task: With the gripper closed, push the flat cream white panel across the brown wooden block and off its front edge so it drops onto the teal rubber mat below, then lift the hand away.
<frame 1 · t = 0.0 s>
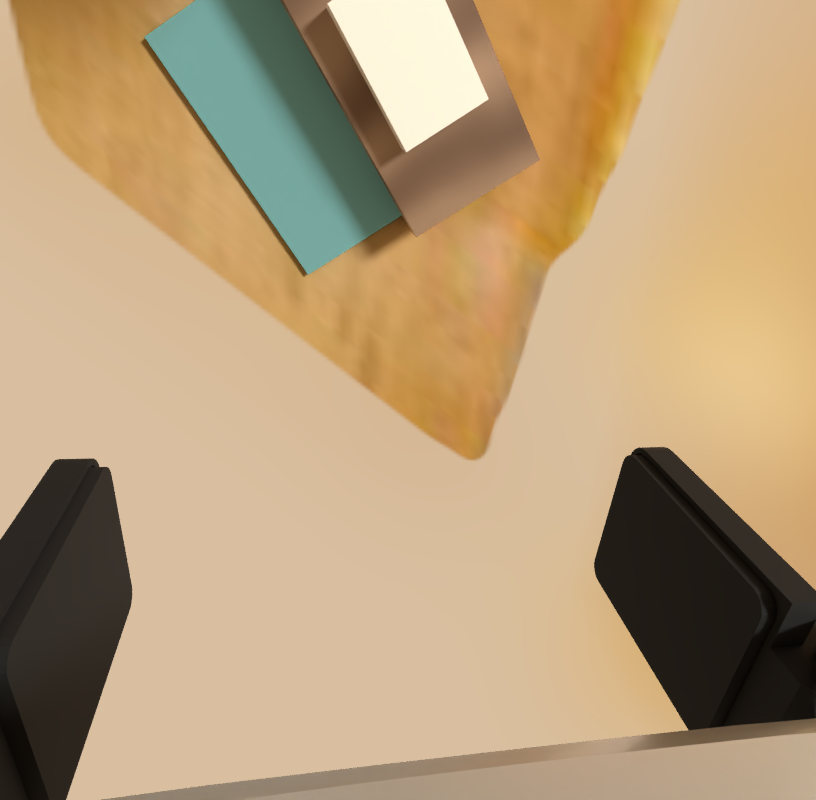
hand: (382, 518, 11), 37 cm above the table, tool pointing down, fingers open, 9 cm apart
cream white panel: (407, 55, 37), point 4 cm above the table, touching brown wooden block
brown wooden block: (397, 58, 40), on the table
mat: (285, 134, 41), on the table
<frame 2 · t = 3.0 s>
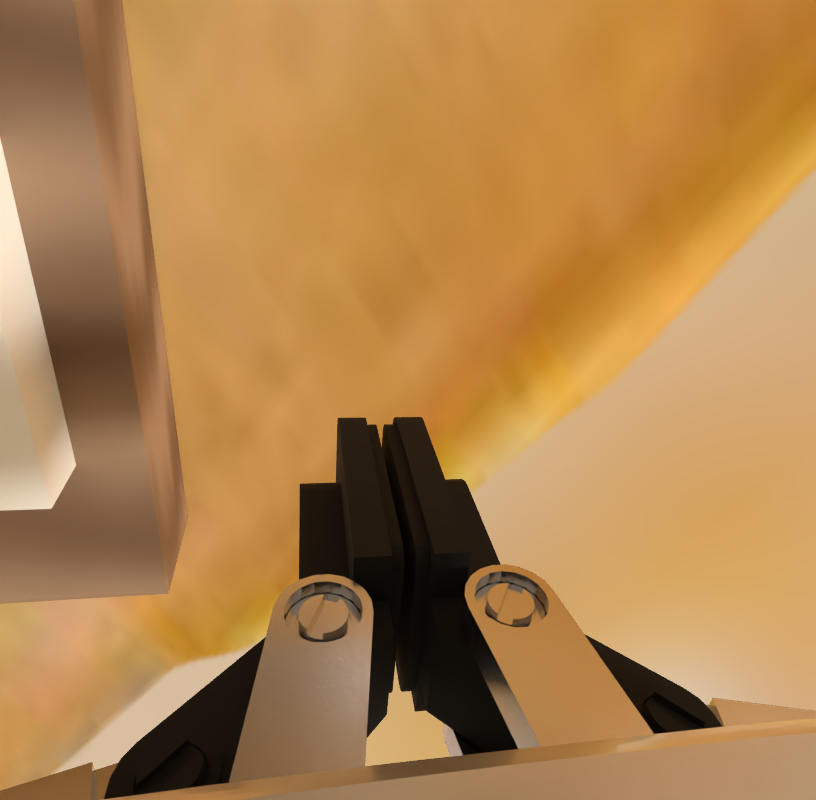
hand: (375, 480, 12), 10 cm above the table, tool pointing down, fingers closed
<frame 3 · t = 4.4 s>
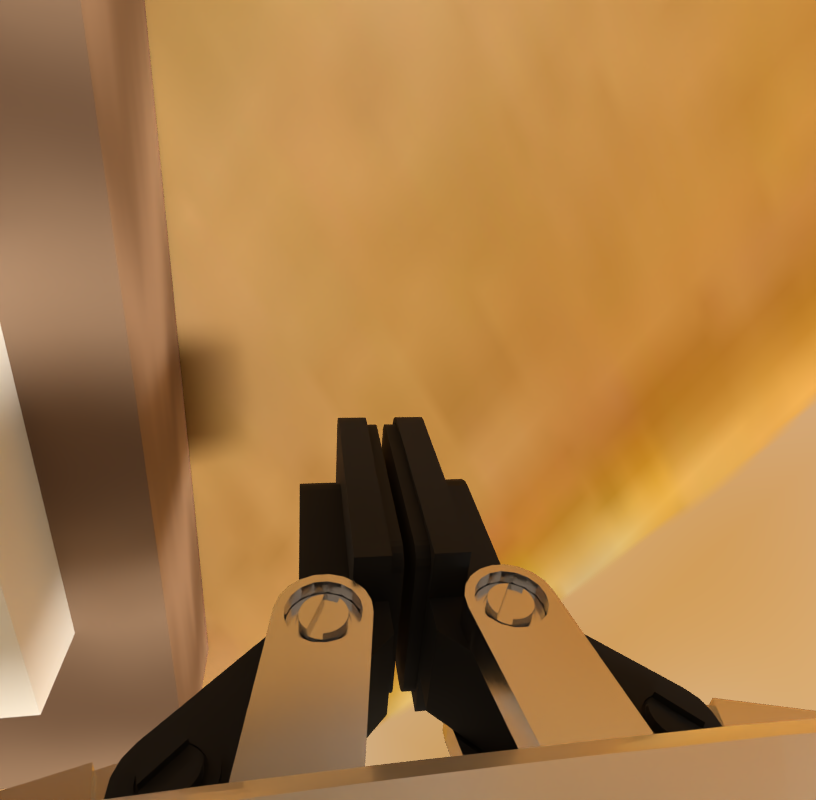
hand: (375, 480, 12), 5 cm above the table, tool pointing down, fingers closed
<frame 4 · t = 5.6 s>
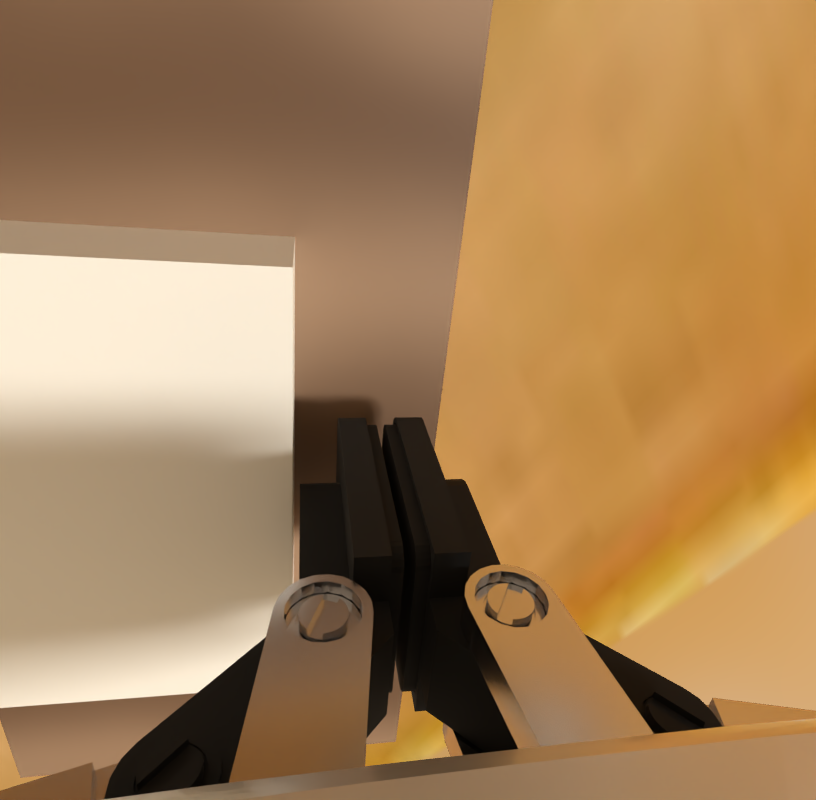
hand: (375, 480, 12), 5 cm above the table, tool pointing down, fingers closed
cream white panel: (140, 457, 12), point 4 cm above the table, touching brown wooden block, gripper
brown wooden block: (216, 372, 15), on the table
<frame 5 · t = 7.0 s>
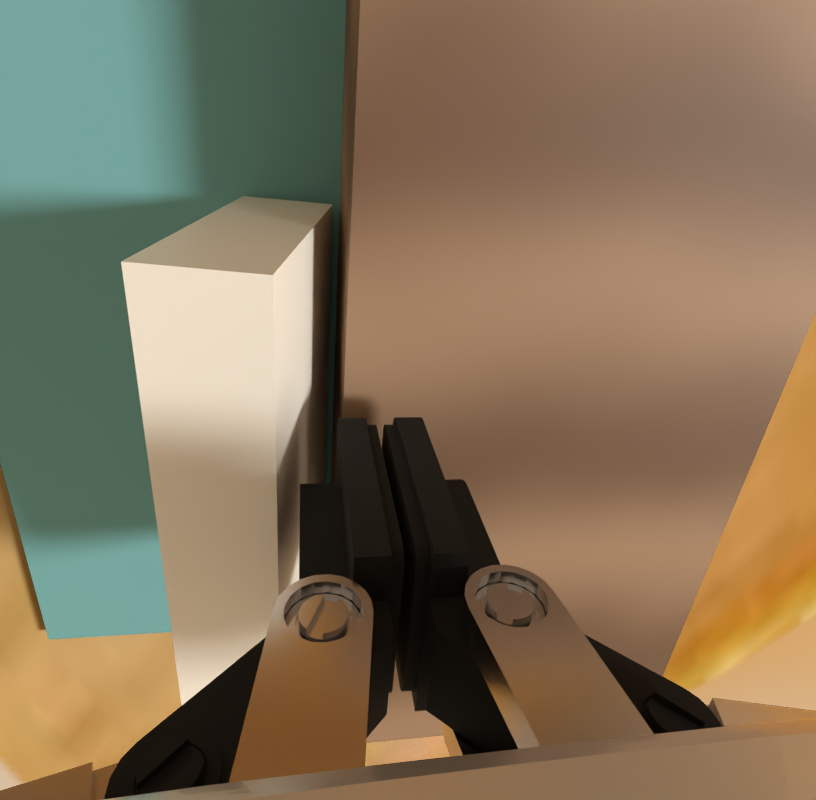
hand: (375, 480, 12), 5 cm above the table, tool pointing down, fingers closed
cream white panel: (308, 445, 12), point 4 cm above the table, tilted 100°, touching mat
brown wooden block: (509, 375, 17), on the table
mat: (167, 371, 15), on the table
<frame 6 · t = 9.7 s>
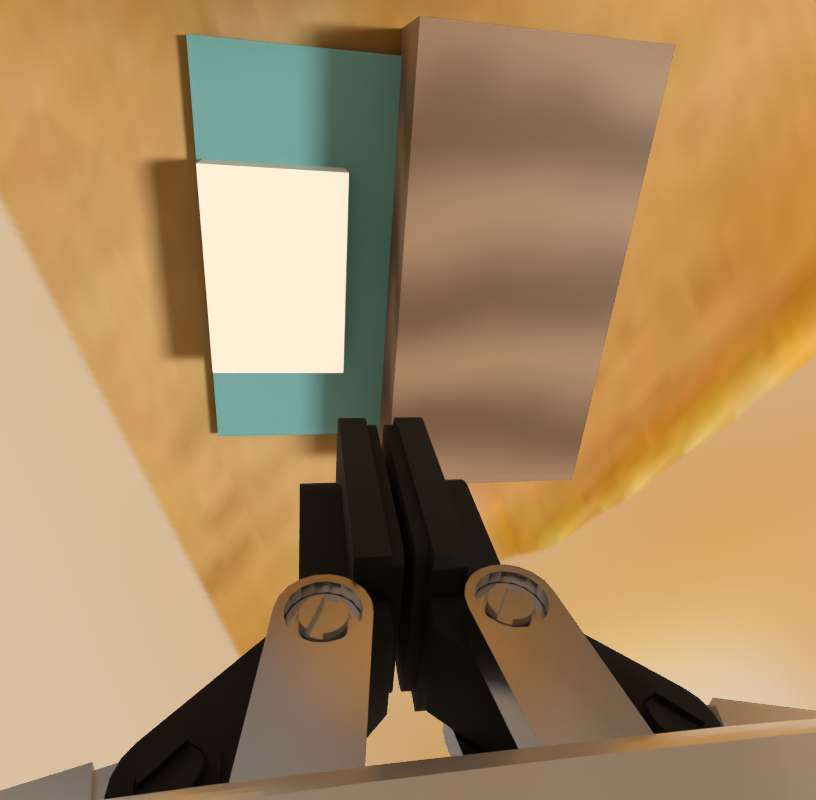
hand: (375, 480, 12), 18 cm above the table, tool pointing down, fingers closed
cream white panel: (276, 278, 26), point 2 cm above the table, tilted 180°, touching mat
brown wooden block: (486, 272, 30), on the table
mat: (299, 266, 28), on the table
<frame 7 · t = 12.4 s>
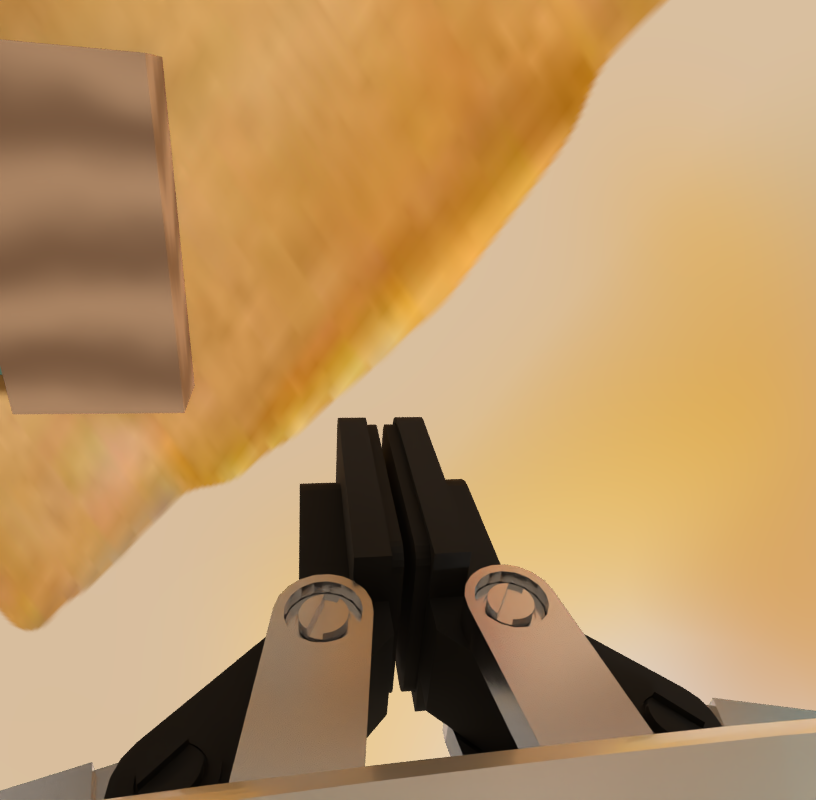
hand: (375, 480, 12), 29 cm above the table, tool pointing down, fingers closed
brown wooden block: (94, 238, 36), on the table
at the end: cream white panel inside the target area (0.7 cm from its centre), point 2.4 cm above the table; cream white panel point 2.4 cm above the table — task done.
